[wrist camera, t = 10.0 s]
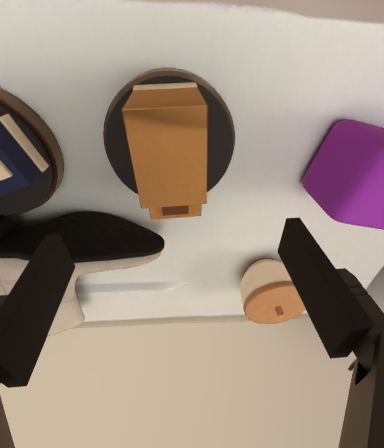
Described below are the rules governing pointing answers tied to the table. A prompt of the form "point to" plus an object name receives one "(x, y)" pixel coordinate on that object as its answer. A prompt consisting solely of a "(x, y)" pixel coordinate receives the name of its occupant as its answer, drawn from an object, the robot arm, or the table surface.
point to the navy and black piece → (21, 166)
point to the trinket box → (269, 293)
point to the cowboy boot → (77, 252)
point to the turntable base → (40, 131)
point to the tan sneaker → (169, 144)
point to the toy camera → (350, 174)
